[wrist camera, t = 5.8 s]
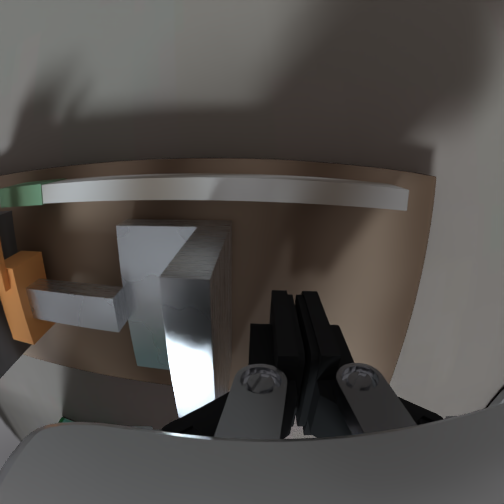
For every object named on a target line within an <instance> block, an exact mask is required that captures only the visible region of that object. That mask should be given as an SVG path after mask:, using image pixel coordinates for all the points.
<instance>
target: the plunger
mask: <svg viewBox="0 0 504 504" xmlns="http://www.w3.org/2000/svg"><path fill="white" fill-rule="evenodd" d="M116 232H117V243H118V252H119V261H120V270H121V277H122V285H123V286H112V285H100V284H89V283H78V282H68V281H58V280H48V279H38V280H36V281H35V282H34V283H32V284H31V285H29V286H28V287H27V288H26V292H27V296H28V300H29V304H30V307H31V311H32V314H33V318H35V319H40V320H45V321H51V322H56V323H61V324H67V325H73V326H79V327H85V328H91V329H98V330H105V331H112V332H120V330H121V329H122V327H123V326H124V325H125V323H126V322H127V320H128V322H129V328H130V333H131V338H132V343H133V348H134V353H135V358H136V362H137V366H142V367H149V368H157V369H166V370H170V371H171V377H172V383H173V389H174V395H175V400H176V406H177V411H178V416H179V418H181V417H183V416H185V415H186V414H188V413H190V412H192V411H194V410H196V409H198V408H200V407H202V406H204V405H206V404H208V403H209V402H211V401H213V400H215V399H217V398H219V397H220V396H222V395H224V394H226V393H228V385H229V377H230V370H231V362H232V310H231V295H232V221H224V220H174V219H127V220H125V221H123V222H122V223H120V224H118V225H116Z"/></svg>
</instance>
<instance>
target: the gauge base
mask: <svg viewBox="0 0 504 504" xmlns="http://www.w3.org/2000/svg"><path fill="white" fill-rule="evenodd" d="M435 186H436V177H434V176H429V175H425V174H419V173H413V172H406V171H399V170H391V169H383V168H375V167H366V166H357V165H347V164H336V163H324V162H311V161H295V160H276V159H247V158H178V159H149V160H131V161H115V162H103V163H91V164H81V165H71V166H62V167H54V168H46V169H39V170H32V171H25V172H19V173H12V174H6V175H1V176H0V240H1V246H2V251H3V257H4V260H5V259H7V258H9V257H10V256H12V255H14V254H16V253H18V252H19V251H39V252H42V257H43V263H44V268H45V273H46V278H47V279H48V280H58V281H68V282H78V283H89V284H100V285H112V286H123V285H122V277H121V270H120V261H119V252H118V243H117V232H116V225H118V224H120V223H122V222H123V221H125V220H127V219H174V220H224V221H232V295H231V310H232V362H231V370H230V377H229V385H228V390H230V389H231V386H232V383H233V380H234V377H235V375H236V373H237V372H238V371H239V370H240V369H242V368H243V367H246V366H248V363H249V341H250V323H254V324H269V322H270V307H271V293H272V290H287V294H292V295H293V299H294V304H295V299H296V295H301V293H302V291H317V292H318V295H319V297H320V300H321V303H322V305H323V308H324V310H325V313H326V316H327V318H328V321H329V324H330V325H339V327H340V329H341V331H342V334H343V336H344V338H345V341H346V343H347V346H348V348H349V351H350V353H351V355H352V358H353V360H354V363H363V364H367V365H370V366H372V367H374V368H376V369H377V370H378V371H379V372H380V373H381V374H382V375H383V377H384V378H385V379H386V381H387V382H388V384H390V381H391V378H392V375H393V373H394V370H395V367H396V364H397V361H398V358H399V355H400V352H401V349H402V346H403V343H404V339H405V336H406V333H407V329H408V326H409V322H410V319H411V315H412V311H413V308H414V304H415V300H416V296H417V292H418V287H419V283H420V279H421V274H422V269H423V265H424V260H425V254H426V249H427V243H428V238H429V232H430V225H431V218H432V211H433V204H434V195H435ZM22 354H23V355H26V356H30V357H33V358H36V359H40V360H44V361H47V362H51V363H55V364H59V365H63V366H67V367H71V368H75V369H79V370H84V371H89V372H93V373H98V374H103V375H108V376H114V377H119V378H125V379H131V380H137V381H143V382H150V383H158V384H165V385H173V383H172V377H171V371H170V370H166V369H157V368H149V367H142V366H137V362H136V358H135V353H134V348H133V343H132V338H131V333H130V328H129V322H128V320H127V322H126V323H125V325H124V326H123V327H122V329H121V330H120V332H112V331H105V330H98V329H91V328H85V327H79V326H73V325H67V324H61V323H55V324H54V325H53V326H52V327H51V328H50V329H49V330H48V331H47V332H46V333H45V334H44V335H43V336H42V337H41V338H40V339H39V340H38V341H37V342H36V343H35V345H32V344H29V343H25V342H21V341H18V340H14V339H13V336H12V333H11V330H10V327H9V325H8V321H7V318H6V315H5V312H4V309H3V305H2V302H1V299H0V378H1V377H2V376H3V375H4V374H5V373H6V372H7V371H8V369H9V368H10V367H11V366H12V365H13V364H14V363H15V362H16V361H17V360H18V359H19V358H20V356H21V355H22Z"/></svg>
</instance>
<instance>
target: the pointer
mask: <svg viewBox="0 0 504 504" xmlns="http://www.w3.org/2000/svg"><path fill="white" fill-rule="evenodd" d="M38 279H47V278H46V273H45V268H44V263H43V257H42V252H39V251H19V252H18V253H16V254H14V255H12V256H10V257H9V258H7V259H5V260H4V257H3V251H2V246H1V240H0V299H1V302H2V305H3V309H4V312H5V315H6V318H7V321H8V325H9V327H10V330H11V333H12V336H13V339H14V340H18V341H21V342H25V343H29V344H32V345H35V343H36V342H37V341H38V340H39V339H40V338H41V337H42V336H43V335H44V334H45V333H46V332H47V331H48V330H49V329H50V328H51V327H52V326H53V325H54V324H55V323H56V322H51V321H45V320H40V319H35V318H33V314H32V311H31V307H30V304H29V300H28V296H27V292H26V288H27V287H28V286H29V285H31V284H32V283H34V282H35V281H36V280H38Z"/></svg>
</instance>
